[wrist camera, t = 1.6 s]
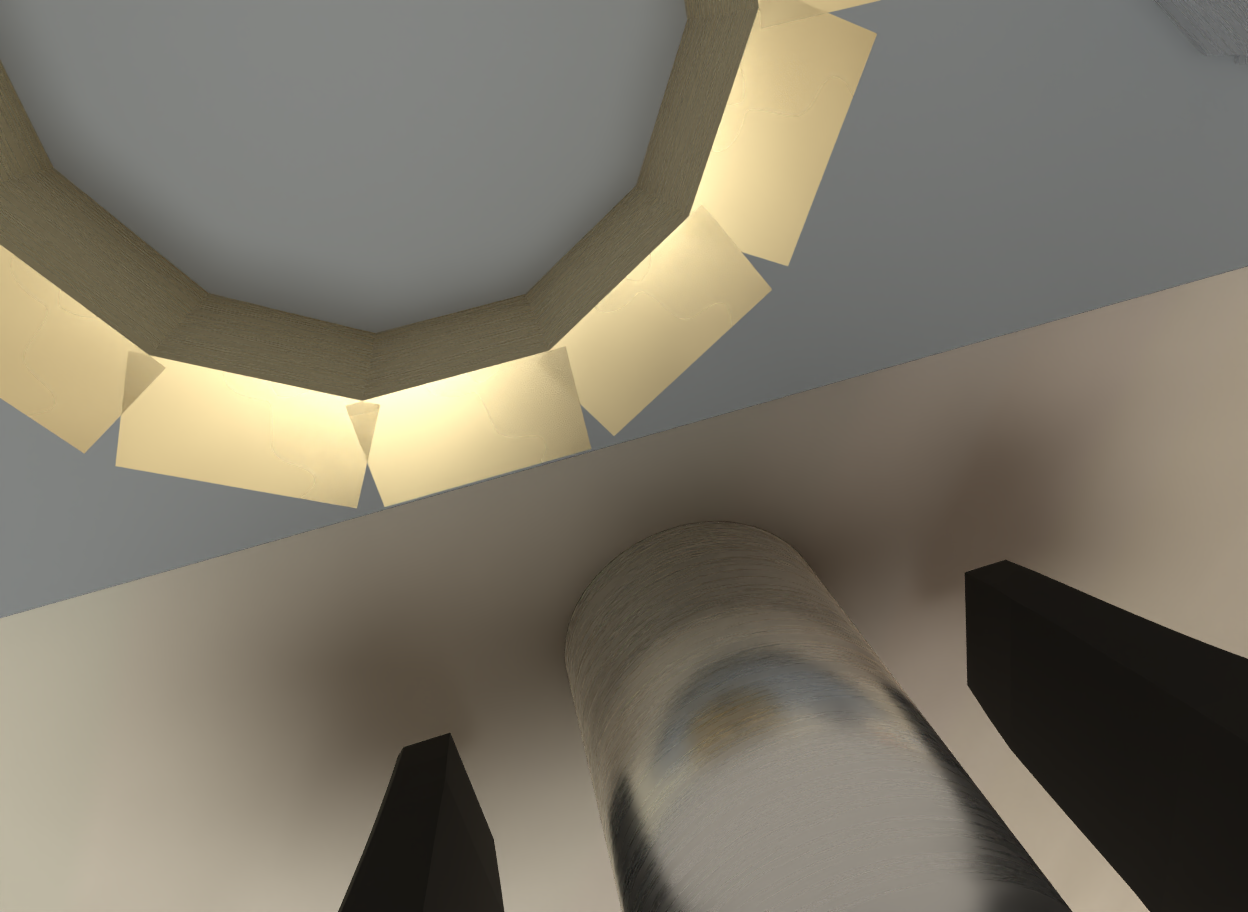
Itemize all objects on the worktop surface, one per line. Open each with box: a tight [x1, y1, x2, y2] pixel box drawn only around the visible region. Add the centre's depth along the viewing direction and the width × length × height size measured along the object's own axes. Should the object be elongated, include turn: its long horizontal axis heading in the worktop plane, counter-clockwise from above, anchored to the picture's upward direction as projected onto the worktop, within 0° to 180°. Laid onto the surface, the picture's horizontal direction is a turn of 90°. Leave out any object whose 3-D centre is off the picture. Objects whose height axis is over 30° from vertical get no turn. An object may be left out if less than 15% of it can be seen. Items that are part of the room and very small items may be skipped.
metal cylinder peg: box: [565, 522, 1072, 912], centre depth 10 cm, size 4×4×6 cm
